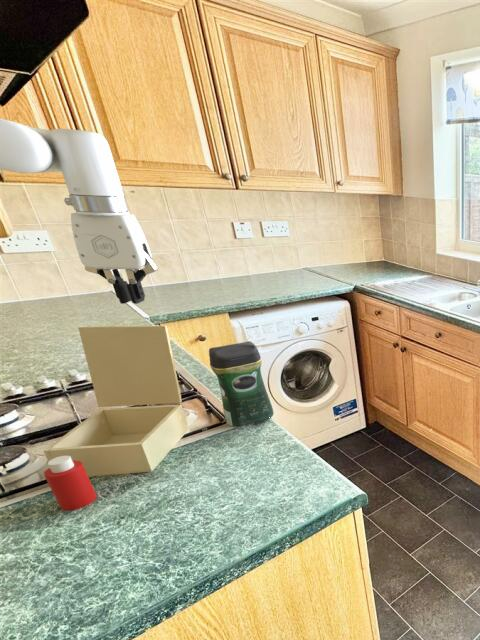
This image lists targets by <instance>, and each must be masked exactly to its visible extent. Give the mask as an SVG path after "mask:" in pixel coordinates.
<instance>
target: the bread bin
mask: <svg viewBox="0 0 480 640" xmlns="http://www.w3.org/2000/svg"><path fill="white" fill-rule="evenodd" d="M189 430H190V426H189V423H188V420H187V417H186V413H185V411H184V406H183V404H164V405H143V406H128V407H127V406H123V407H101V408H99V409H98V410H97V411H95V412H94V413H93V414H91V415H90V416H88V417H87V418H85V420H83V421H82V422H80V423H79V424H78V425H76V426H75V427H73V428H72V429H71V430H69V431H68V432H67V433H66V434H64V435H62V437H60V438H59V439H57V440H55V441H54V442H53V443H52V444H51V445H49V446H48V447H47V448H45V449H43V453H44V456H45V458H46V459H47V462H49V461H50V460H52V459H54V458H56V457H60V456H70V457H71V459H72V461H73V460H76V461H80V462H82V464H83V466H84V469H85V471H86V473H87V475H88V477H89V478H90V477H100V476H101V477H102V476H111V475H125V474H139V473H150V472H151V473H152V472H153V471H154V470H155V469H156V468H157V467H158V465H159V464H160V463H161V462H162V461H163V460H164V459H165V457H166V456H168V454H169V453H170V452H171V450H173V448H174V447H175V446H176V445H177V444H178V442H179V441H180V440H181V439H182V438H183V437H184V435H186V434H187V432H188V431H189Z"/></svg>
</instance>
